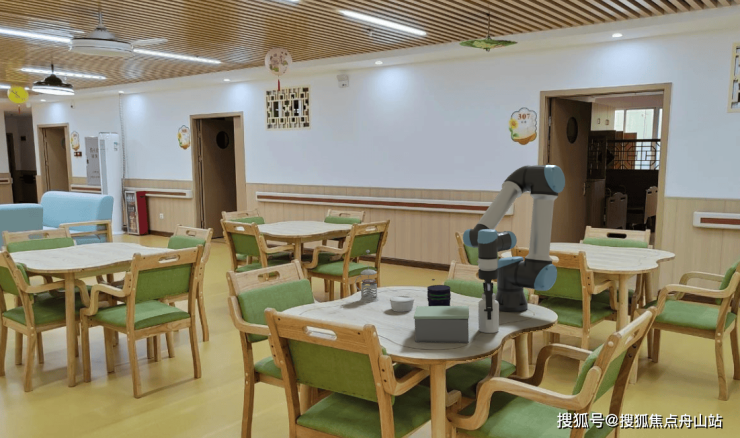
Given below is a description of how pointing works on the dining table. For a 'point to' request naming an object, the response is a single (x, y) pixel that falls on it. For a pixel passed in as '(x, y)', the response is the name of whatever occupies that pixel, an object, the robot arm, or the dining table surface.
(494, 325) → the pill bottle
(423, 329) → the storage box
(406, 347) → the dining table surface
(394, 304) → the ramekin
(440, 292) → the storage jar
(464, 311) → the box lid
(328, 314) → the dining table surface
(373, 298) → the french press
